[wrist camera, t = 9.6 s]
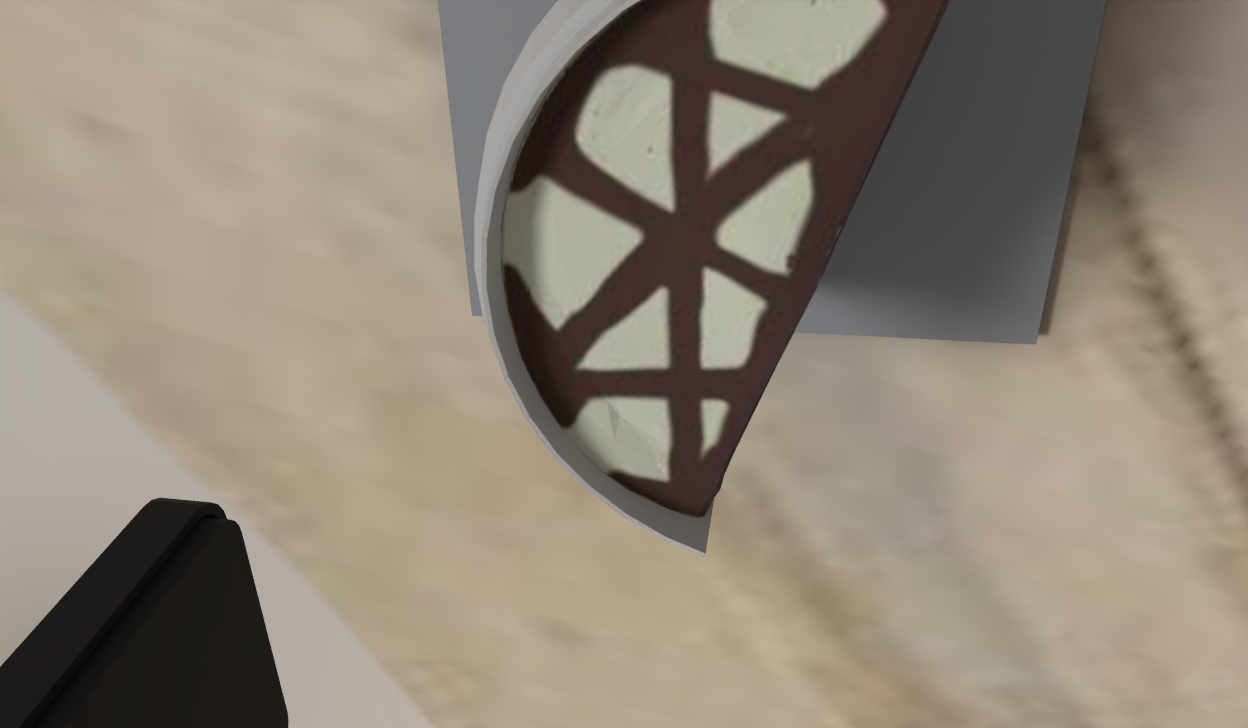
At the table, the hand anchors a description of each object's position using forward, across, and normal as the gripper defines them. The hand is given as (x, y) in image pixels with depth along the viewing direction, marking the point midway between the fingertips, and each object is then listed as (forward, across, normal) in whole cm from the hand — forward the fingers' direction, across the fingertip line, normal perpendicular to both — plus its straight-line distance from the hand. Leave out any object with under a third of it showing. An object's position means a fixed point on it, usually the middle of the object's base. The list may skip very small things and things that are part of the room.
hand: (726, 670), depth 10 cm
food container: (+18, +2, -1) cm, 18 cm away
